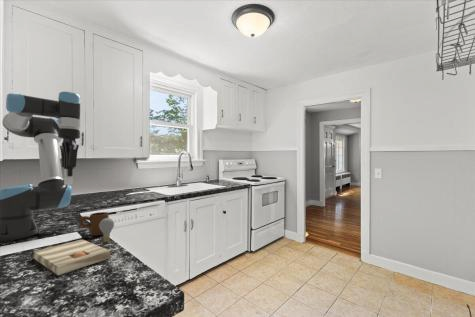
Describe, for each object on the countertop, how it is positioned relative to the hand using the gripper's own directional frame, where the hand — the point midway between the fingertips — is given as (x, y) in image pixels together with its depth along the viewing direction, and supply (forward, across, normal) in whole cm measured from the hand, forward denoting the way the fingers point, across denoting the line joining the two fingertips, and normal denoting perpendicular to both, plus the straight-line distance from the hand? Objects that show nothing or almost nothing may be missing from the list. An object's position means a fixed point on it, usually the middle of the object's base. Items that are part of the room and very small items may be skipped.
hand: (68, 184), depth 96 cm
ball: (+23, +27, -6) cm, 36 cm away
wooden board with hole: (+24, +21, -6) cm, 33 cm away
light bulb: (+25, +14, +9) cm, 30 cm away
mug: (+25, -2, +11) cm, 27 cm away
